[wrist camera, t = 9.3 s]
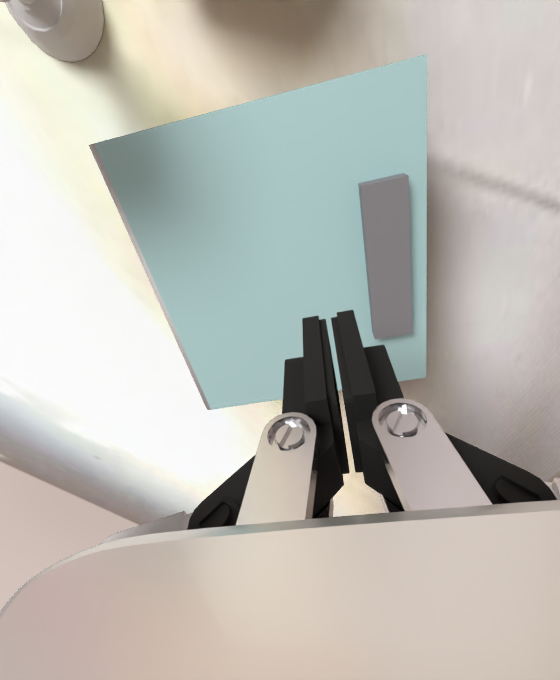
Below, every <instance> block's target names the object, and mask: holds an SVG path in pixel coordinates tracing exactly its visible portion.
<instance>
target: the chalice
mask: <svg viewBox="0 0 560 680" xmlns="http://www.w3.org/2000/svg"><path fill="white" fill-rule="evenodd" d="M0 2H5V4H6V6H7V8H8V10H9V12H10V14H11V15H12V17H13V18H14V19H15V21H16V22H17V24H18V25H19V26H20V27H21V28H22V29H23V31H24V32H25V33H26V34H27V35H28V37H29V38H30V39H31V41H32V42H33V43H34V44H35V45H37V46H38V47H39V48H40V49H41V50H42V51H43V52H45V53H46V54H48V55H50V56H52V57H54V58H56V59H58V60H62V61H69V62H75V61H79V60H83V59H86V58H87V57H88V56H89V55H90V54H92V53H93V52H94V51H95V50H96V48H97V46H98V44H99V42H100V40H101V38H102V33H103V26H104V14H103V5H102V0H0Z"/></svg>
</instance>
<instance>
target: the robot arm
mask: <svg viewBox="0 0 560 680" xmlns="http://www.w3.org/2000/svg"><path fill="white" fill-rule="evenodd" d="M331 322H332V329H333V335H334V341H335V348H336V354H337V360H338V366H339V373H340V379H341V385H342V392H343V398H344V404H345V410H346V416H347V422H348V429H349V435H350V441H351V447H352V453H353V459H354V465H355V471H356V472H363V474H364V480H365V483H366V484H367V485H368V486H370V487H371V488H373V489H374V490H376V491H377V492H379V493H380V497H381V501H382V504H383V507H384V509H385V512H386V513H379V514H366V515H354V516H342V517H333V506H334V505H333V496H334V495H335V494H336V493H337V492H338V491H339V490H340V488H341V487H342V486H343V485H344V482H343V474H346V473H349V465H348V458H347V451H346V444H345V437H344V430H343V423H342V416H341V409H340V402H339V395H338V388H337V382H336V376H335V370H334V365H333V359H332V353H331V347H330V341H329V336H328V330H327V324H326V319H320V320H319V316H312V317H306V318H302V327H303V357H298V358H291V359H286V360H285V364H284V386H283V407H282V414H281V415H279V416H277V417H275V418H274V419H272V420H271V421H270V422H269V423H268V424H267V425H266V426H265V428H264V430H263V432H262V435H261V439H260V442H259V446H258V449H257V453H256V455H255V456H253V457H252V458H251V459H250V460H249V461H248V462H247V463H246V464H244V465H243V466H242V467H241V468H240V469H239V470H238V471H236V472H235V473H234V474H233V475H232V476H231V477H230V478H228V479H227V480H226V481H225V482H224V483H223V484H222V485H220V486H219V487H218V488H217V489H216V490H215V491H214V492H213V493H211V494H210V495H209V496H208V497H207V498H206V499H205V500H203V501H202V502H201V503H200V504H199V505H198V507H197V508H196V509H195V510H194V512H193V513H190V514H186V513H185V511H182V512H179V513H176V514H173V515H170V516H167V517H164V518H161V519H158V520H155V521H151V522H148V523H145V524H142V525H139V526H136V527H133V528H130V529H127V530H123V531H120V532H117V533H115V534H113V535H111V536H109V537H107V538H106V539H105V540H104V541H102V542H101V543H100V544H99V545H97V546H94V547H91V548H88V549H85V550H83V551H80V552H78V553H75V554H73V555H71V556H69V557H67V558H65V559H63V560H61V561H59V562H57V563H55V564H53V565H52V566H50V567H48V568H47V569H45V570H43V571H42V572H40V573H39V574H37V575H36V576H34V577H33V578H31V579H30V580H29V581H28V582H26V583H25V584H24V585H23V586H22V587H21V588H20V589H19V590H18V591H17V592H16V593H15V594H14V595H13V596H12V597H11V598H10V600H9V601H8V602H7V603H6V605H5V606H4V607H3V609H2V610H1V611H0V680H560V478H554V480H553V482H545V481H542V480H541V479H540V478H538V477H536V476H535V475H533V474H531V473H530V472H528V471H526V470H524V469H521V468H519V467H517V466H515V465H513V464H511V463H509V462H507V461H504V460H502V459H500V458H498V457H496V456H494V455H492V454H490V453H487V452H485V451H483V450H481V449H479V448H477V447H475V446H473V445H470V444H468V443H466V442H464V441H462V440H460V439H458V438H455V437H453V436H451V435H449V434H447V433H445V432H444V431H443V430H442V428H441V427H440V425H439V424H438V422H437V421H436V419H435V418H434V416H433V415H432V413H431V412H430V411H429V410H428V409H427V408H426V406H424V405H422V404H421V403H419V402H417V401H413V400H410V399H404V397H403V394H402V392H401V389H400V386H399V383H398V381H397V378H396V375H395V372H394V370H393V367H392V364H391V361H390V358H389V356H388V353H387V350H386V348H385V345H384V344H383V345H377V346H370V347H363V344H362V340H361V337H360V333H359V329H358V326H357V322H356V318H355V315H354V311H353V310H348V311H342V312H337V317H332V318H331Z"/></svg>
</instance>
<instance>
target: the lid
mask: <svg viewBox="0 0 560 680" xmlns="http://www.w3.org/2000/svg"><path fill="white" fill-rule="evenodd" d="M89 147H90V149H91V151H92V153H93V156H94V158H95V160H96V162H97V164H98V167H99V169H100V171H101V173H102V176H103V178H104V180H105V182H106V185H107V187H108V189H109V191H110V194H111V196H112V198H113V200H114V202H115V205H116V207H117V209H118V211H119V214H120V216H121V218H122V220H123V223H124V225H125V227H126V229H127V232H128V234H129V236H130V238H131V240H132V243H133V245H134V247H135V249H136V252H137V254H138V256H139V258H140V261H141V263H142V265H143V267H144V270H145V272H146V274H147V276H148V278H149V281H150V283H151V285H152V287H153V290H154V292H155V294H156V296H157V299H158V301H159V303H160V305H161V308H162V310H163V312H164V314H165V316H166V319H167V321H168V323H169V325H170V328H171V330H172V332H173V334H174V337H175V339H176V341H177V343H178V346H179V348H180V350H181V352H182V355H183V357H184V359H185V361H186V363H187V366H188V368H189V370H190V372H191V375H192V377H193V379H194V381H195V384H196V386H197V388H198V390H199V393H200V395H201V397H202V399H203V401H204V404H205V406H206V408H207V409H208V410H212V409H219V408H225V407H232V406H239V405H246V404H252V403H259V402H266V401H272V400H279V399H283V386H284V364H285V360H286V359H291V358H298V357H303V327H302V318H306V317H312V316H319V320H320V319H326V324H327V330H328V336H329V341H330V347H331V353H332V359H333V365H334V370H335V376H336V382H337V388H338V391H339V390H342V385H341V379H340V373H339V366H338V360H337V354H336V348H335V341H334V335H333V329H332V322H331V318H332V317H337V312H342V311H348V310H353V311H354V315H355V318H356V322H357V326H358V329H359V333H360V337H361V340H362V344H363V347H370V346H377V345H383V344H384V345H385V348H386V350H387V353H388V356H389V358H390V361H391V364H392V367H393V370H394V372H395V375H396V378H397V381H398V382H400V381H407V380H413V379H420V378H426V308H427V54H426V55H422V56H418V57H414V58H411V59H407V60H403V61H400V62H396V63H392V64H388V65H385V66H381V67H377V68H374V69H370V70H366V71H362V72H359V73H355V74H351V75H348V76H344V77H340V78H336V79H333V80H329V81H325V82H322V83H318V84H314V85H310V86H307V87H303V88H299V89H296V90H292V91H288V92H284V93H281V94H277V95H273V96H269V97H266V98H262V99H258V100H255V101H251V102H247V103H243V104H240V105H236V106H232V107H229V108H225V109H221V110H217V111H214V112H210V113H206V114H203V115H199V116H195V117H191V118H188V119H184V120H180V121H177V122H173V123H169V124H165V125H162V126H158V127H154V128H151V129H147V130H143V131H139V132H136V133H132V134H128V135H125V136H121V137H117V138H113V139H110V140H106V141H102V142H98V143H95V144H91V145H89Z"/></svg>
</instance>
